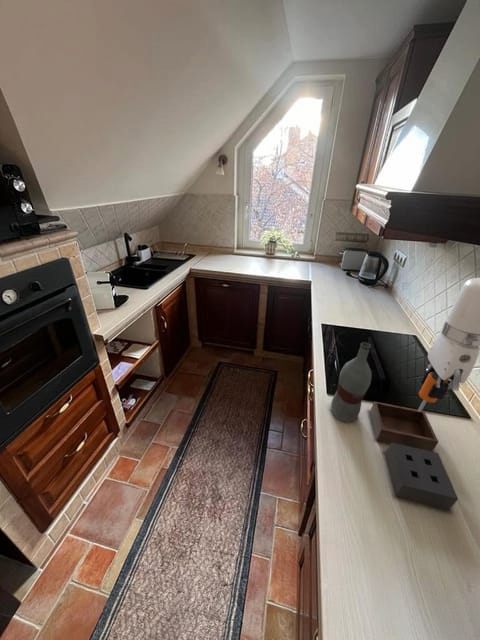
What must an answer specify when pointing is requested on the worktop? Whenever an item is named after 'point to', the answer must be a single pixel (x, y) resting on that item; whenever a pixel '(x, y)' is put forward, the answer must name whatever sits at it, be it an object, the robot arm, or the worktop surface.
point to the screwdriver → (428, 389)
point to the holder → (420, 476)
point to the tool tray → (402, 426)
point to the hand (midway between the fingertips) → (431, 390)
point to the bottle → (352, 386)
